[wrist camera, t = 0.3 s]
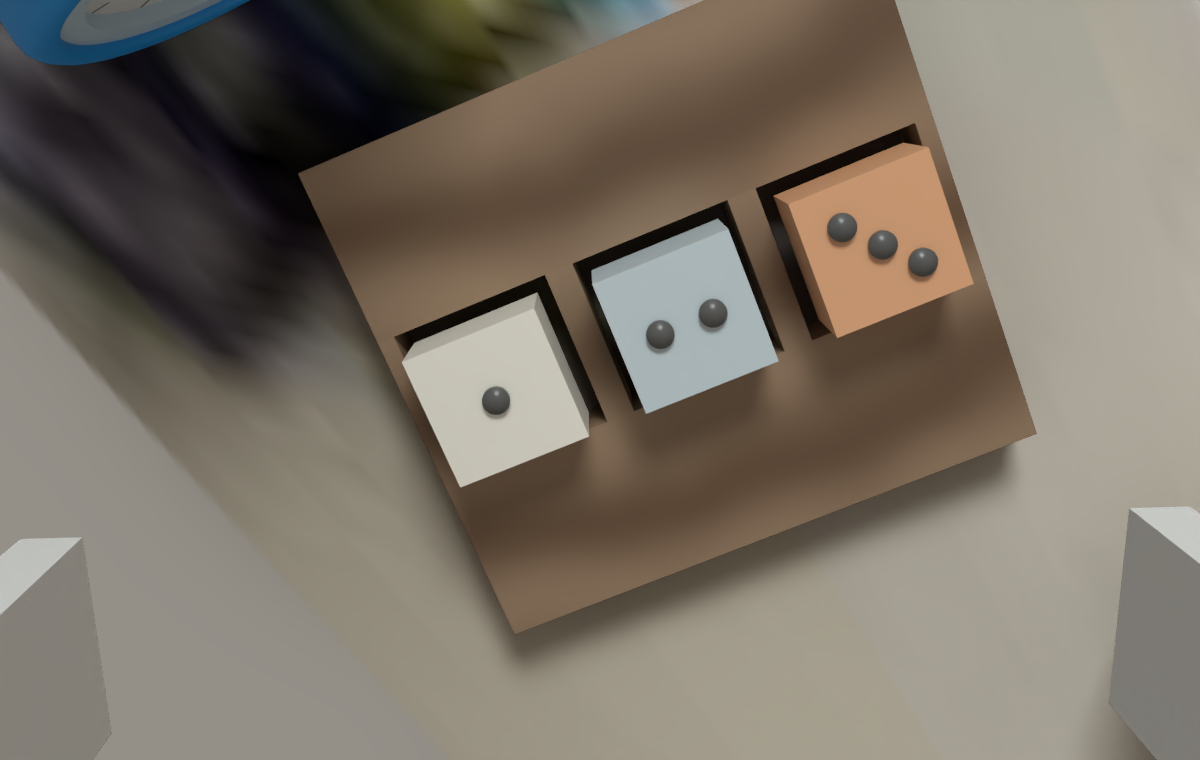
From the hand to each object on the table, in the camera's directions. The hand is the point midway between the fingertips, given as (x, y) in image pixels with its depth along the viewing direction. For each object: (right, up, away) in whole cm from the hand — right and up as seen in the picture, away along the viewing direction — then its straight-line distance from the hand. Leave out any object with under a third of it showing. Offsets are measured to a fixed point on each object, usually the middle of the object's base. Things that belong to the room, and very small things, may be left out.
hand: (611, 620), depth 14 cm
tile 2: (+9, +8, +24) cm, 27 cm away
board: (+3, +6, +27) cm, 28 cm away
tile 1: (-3, +3, +25) cm, 26 cm away
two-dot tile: (+3, +6, +25) cm, 26 cm away
